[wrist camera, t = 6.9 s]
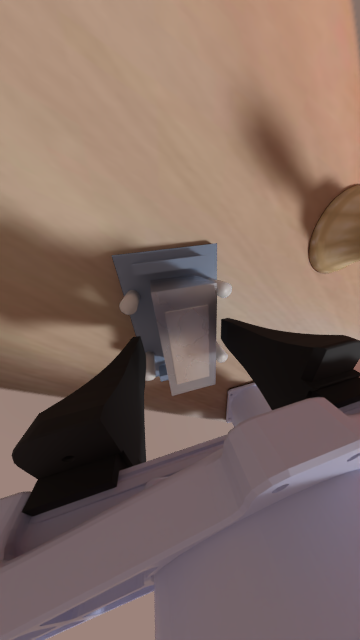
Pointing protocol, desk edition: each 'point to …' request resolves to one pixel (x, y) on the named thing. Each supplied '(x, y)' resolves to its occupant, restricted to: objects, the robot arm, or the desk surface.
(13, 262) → the desk surface
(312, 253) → the hand bell
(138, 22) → the desk surface
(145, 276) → the grey peg stand
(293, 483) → the robot arm
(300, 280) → the desk surface
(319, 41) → the desk surface
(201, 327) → the block
